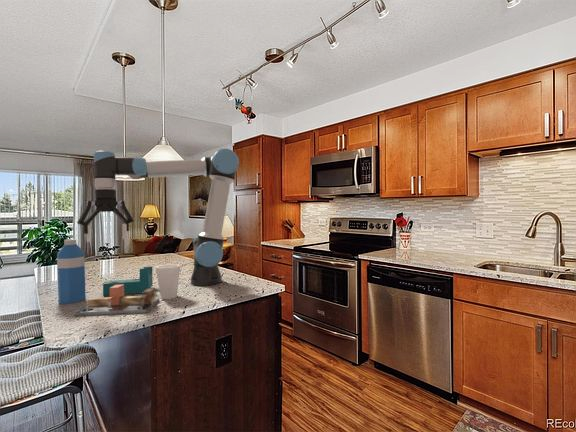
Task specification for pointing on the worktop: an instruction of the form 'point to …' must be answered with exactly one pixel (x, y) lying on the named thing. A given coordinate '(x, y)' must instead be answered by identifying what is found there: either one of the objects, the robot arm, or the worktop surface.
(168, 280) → the foam cup
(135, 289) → the teal l-shaped bracket
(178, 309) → the worktop surface
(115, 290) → the sliding jaw
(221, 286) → the worktop surface
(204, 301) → the worktop surface
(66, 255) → the water bottle
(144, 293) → the beam gauge
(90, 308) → the bolt plate
